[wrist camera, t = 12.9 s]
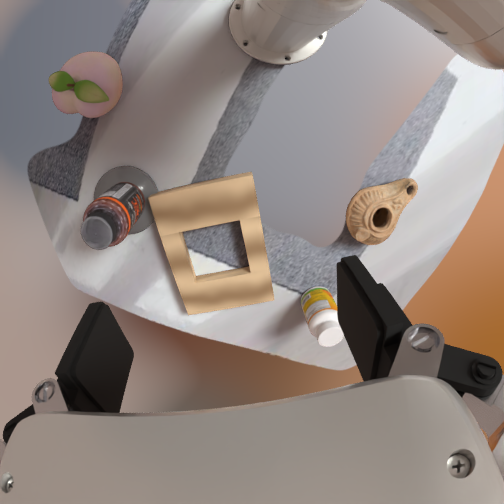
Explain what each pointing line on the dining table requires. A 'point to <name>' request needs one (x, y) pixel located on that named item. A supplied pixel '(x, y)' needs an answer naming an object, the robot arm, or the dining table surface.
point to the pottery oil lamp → (378, 210)
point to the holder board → (207, 214)
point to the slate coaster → (137, 179)
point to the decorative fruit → (87, 85)
